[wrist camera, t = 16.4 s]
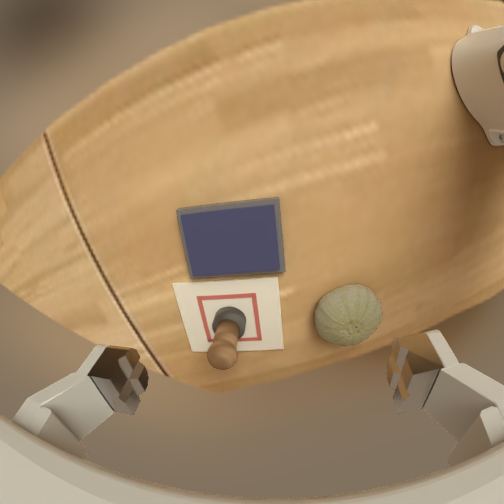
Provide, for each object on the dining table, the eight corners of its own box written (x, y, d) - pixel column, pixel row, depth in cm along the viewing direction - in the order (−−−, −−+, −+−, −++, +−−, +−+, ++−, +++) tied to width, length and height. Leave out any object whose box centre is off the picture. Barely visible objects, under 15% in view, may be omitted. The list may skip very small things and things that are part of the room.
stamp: (243, 305, 37) (236, 350, 29) (248, 331, 39) (241, 377, 31) (212, 307, 38) (196, 351, 29) (217, 332, 40) (205, 377, 31)
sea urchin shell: (307, 290, 34) (364, 311, 28) (342, 267, 39) (392, 283, 33) (307, 345, 38) (354, 370, 32) (339, 320, 42) (382, 338, 36)
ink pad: (278, 197, 32) (279, 199, 31) (285, 268, 35) (285, 273, 34) (178, 208, 33) (174, 211, 32) (192, 275, 37) (189, 280, 35)
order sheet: (277, 276, 36) (277, 277, 35) (283, 347, 40) (283, 349, 40) (173, 283, 37) (172, 284, 37) (192, 350, 42) (192, 351, 41)
